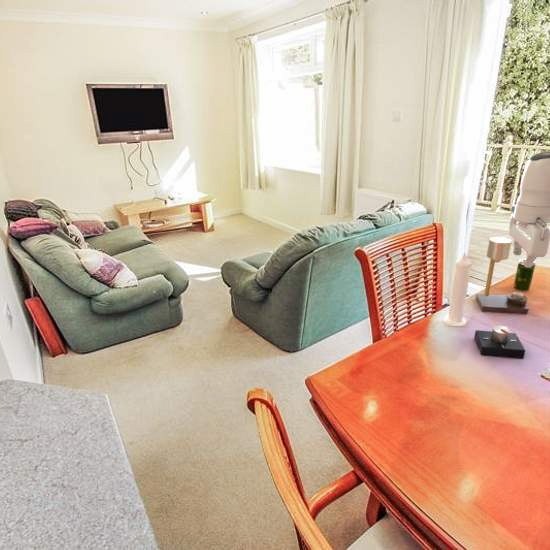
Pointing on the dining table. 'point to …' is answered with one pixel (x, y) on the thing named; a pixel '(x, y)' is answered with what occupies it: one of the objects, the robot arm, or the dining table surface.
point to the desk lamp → (496, 256)
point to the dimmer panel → (499, 345)
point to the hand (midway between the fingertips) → (521, 260)
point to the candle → (459, 293)
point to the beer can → (523, 276)
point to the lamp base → (502, 304)
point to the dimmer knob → (500, 334)
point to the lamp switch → (517, 295)
